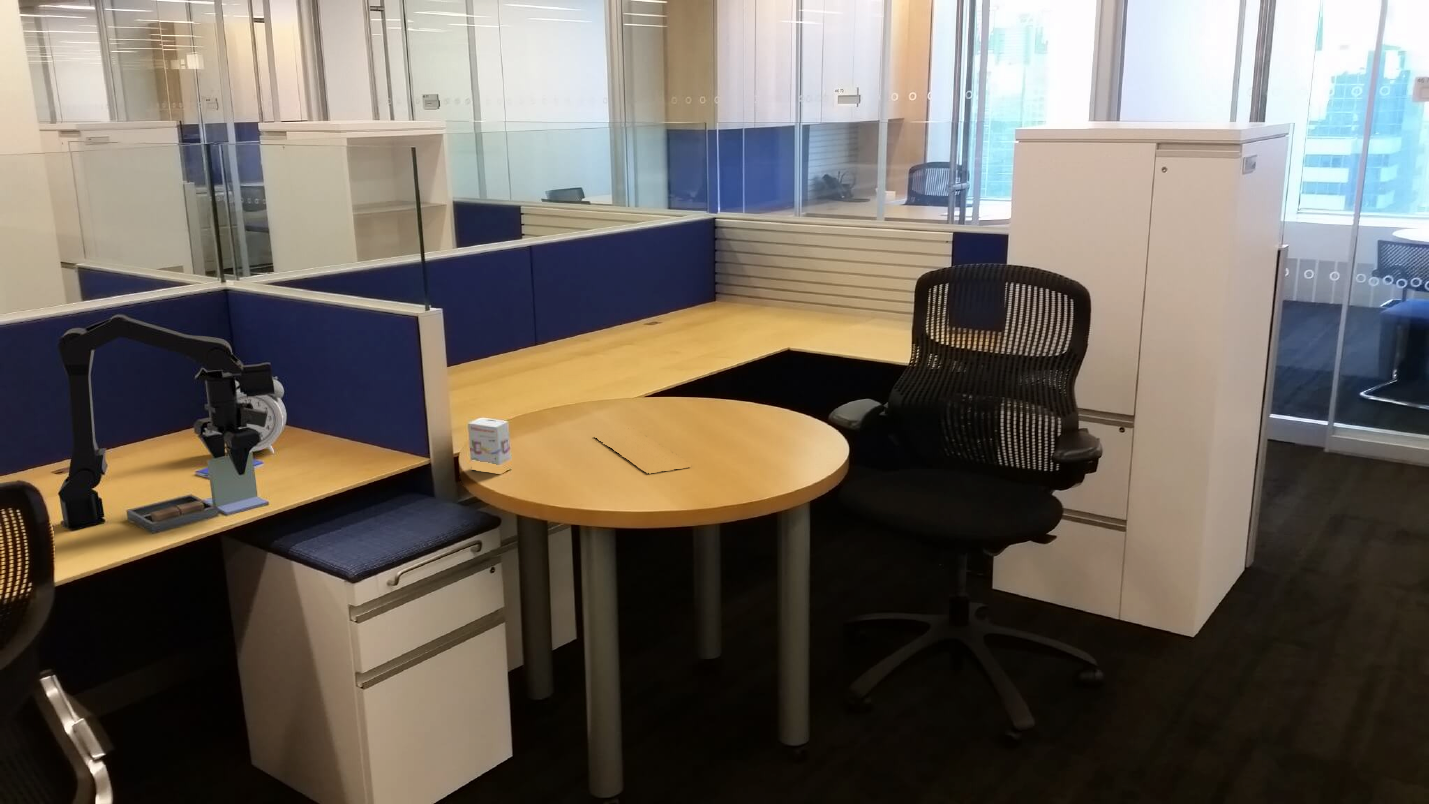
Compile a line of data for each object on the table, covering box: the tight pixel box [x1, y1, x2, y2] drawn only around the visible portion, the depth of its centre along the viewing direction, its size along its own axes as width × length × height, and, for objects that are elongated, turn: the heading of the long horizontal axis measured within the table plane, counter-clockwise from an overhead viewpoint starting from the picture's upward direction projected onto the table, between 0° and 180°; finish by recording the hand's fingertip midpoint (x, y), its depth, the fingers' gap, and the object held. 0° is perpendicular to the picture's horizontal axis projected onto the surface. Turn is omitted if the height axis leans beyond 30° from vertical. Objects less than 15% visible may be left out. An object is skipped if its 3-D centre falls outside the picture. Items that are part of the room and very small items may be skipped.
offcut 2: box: [176, 501, 204, 515], centre depth 227 cm, size 4×3×3 cm
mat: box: [203, 496, 270, 516], centre depth 235 cm, size 9×12×1 cm
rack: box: [125, 493, 220, 534], centre depth 227 cm, size 13×13×2 cm
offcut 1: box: [151, 507, 180, 522], centre depth 223 cm, size 4×3×3 cm
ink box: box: [467, 417, 512, 465], centre depth 255 cm, size 9×5×12 cm, turn 65°
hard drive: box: [194, 459, 265, 479], centre depth 259 cm, size 2×8×12 cm
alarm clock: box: [226, 371, 287, 455], centre depth 270 cm, size 16×9×22 cm, turn 104°
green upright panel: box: [206, 451, 259, 507], centre depth 234 cm, size 9×2×10 cm, turn 138°
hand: (231, 470), depth 234 cm, fingers open, 9 cm apart
